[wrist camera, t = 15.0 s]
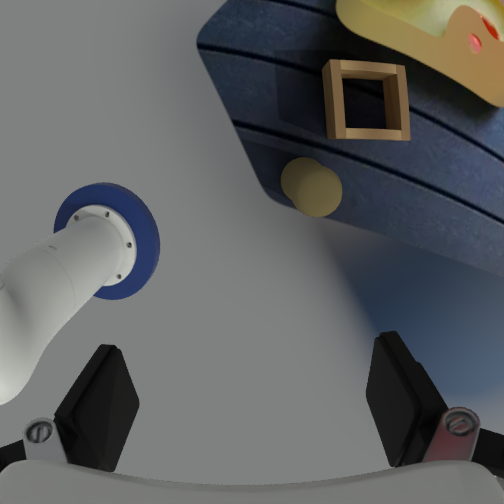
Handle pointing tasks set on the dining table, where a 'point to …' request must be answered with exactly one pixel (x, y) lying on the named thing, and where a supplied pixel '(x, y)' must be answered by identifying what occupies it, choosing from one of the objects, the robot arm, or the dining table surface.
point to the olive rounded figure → (311, 187)
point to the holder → (392, 97)
